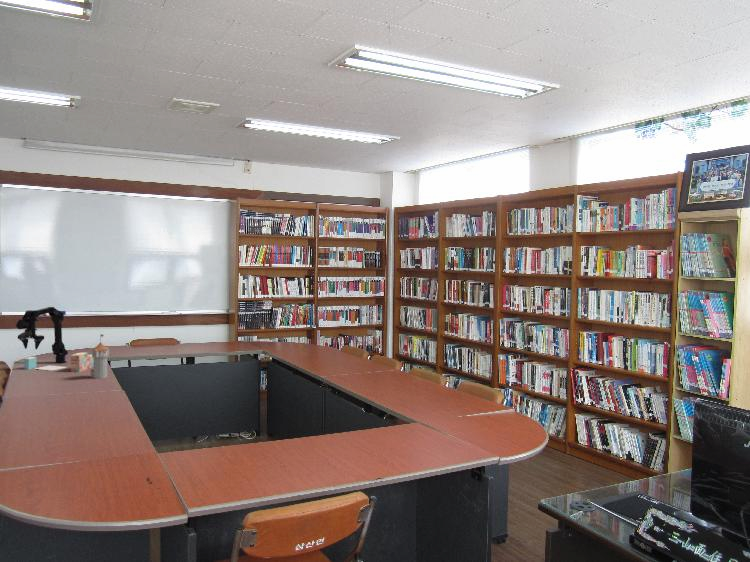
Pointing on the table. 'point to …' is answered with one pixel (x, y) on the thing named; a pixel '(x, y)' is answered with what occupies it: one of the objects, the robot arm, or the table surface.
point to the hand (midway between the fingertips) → (31, 349)
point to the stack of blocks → (81, 362)
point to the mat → (50, 368)
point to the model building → (100, 360)
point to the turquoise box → (29, 362)
